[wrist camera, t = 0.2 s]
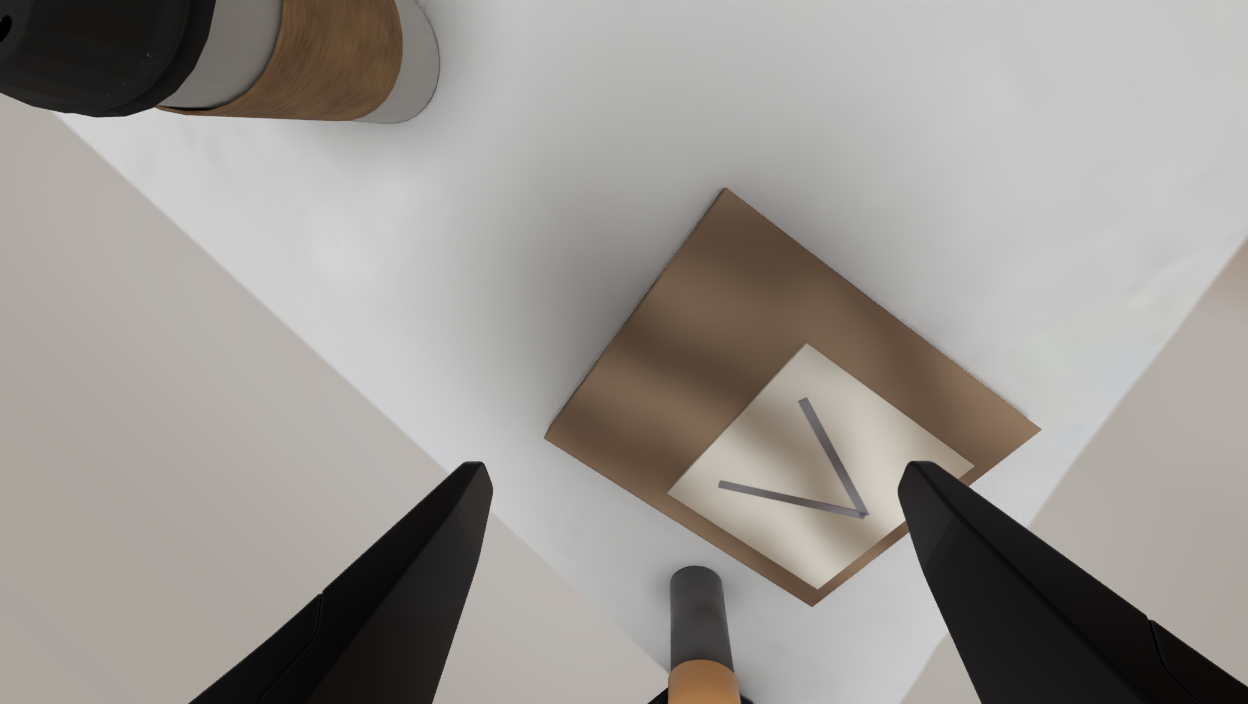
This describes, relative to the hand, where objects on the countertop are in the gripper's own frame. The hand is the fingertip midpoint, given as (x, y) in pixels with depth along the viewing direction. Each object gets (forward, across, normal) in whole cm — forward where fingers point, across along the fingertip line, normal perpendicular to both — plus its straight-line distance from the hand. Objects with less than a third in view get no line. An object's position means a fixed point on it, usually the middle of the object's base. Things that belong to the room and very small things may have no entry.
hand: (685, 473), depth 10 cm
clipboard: (+13, -6, +11) cm, 18 cm away
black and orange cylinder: (+10, -1, +24) cm, 26 cm away
